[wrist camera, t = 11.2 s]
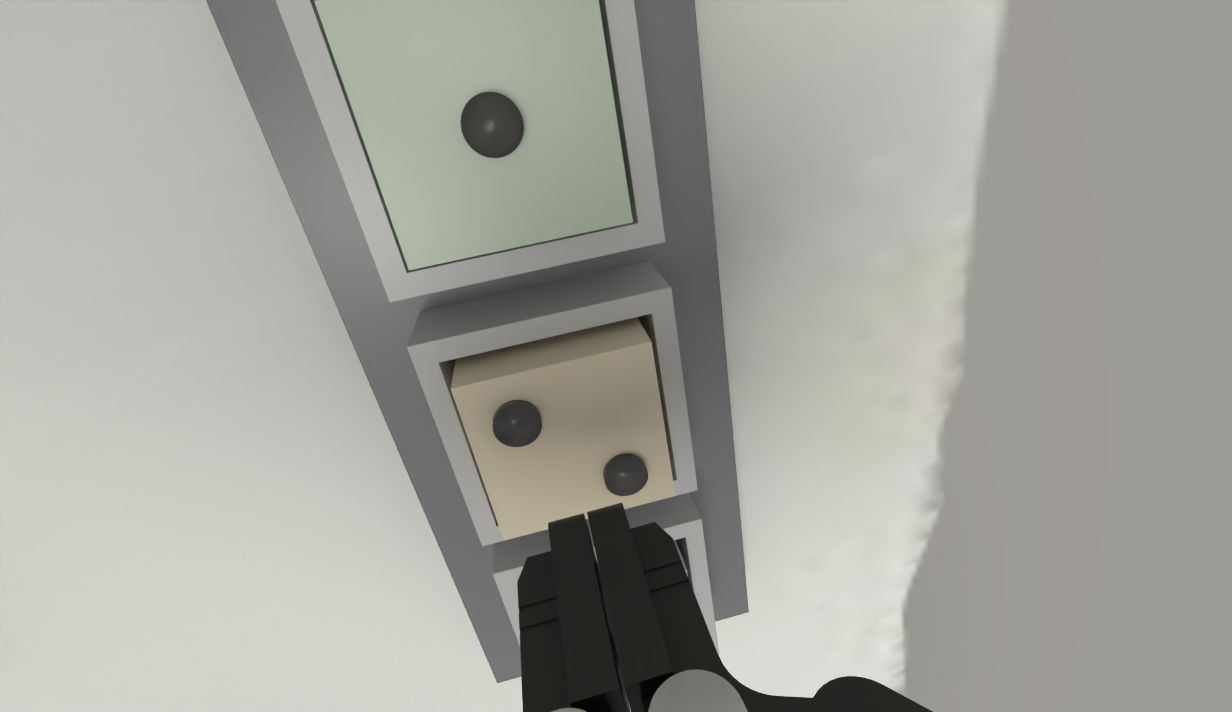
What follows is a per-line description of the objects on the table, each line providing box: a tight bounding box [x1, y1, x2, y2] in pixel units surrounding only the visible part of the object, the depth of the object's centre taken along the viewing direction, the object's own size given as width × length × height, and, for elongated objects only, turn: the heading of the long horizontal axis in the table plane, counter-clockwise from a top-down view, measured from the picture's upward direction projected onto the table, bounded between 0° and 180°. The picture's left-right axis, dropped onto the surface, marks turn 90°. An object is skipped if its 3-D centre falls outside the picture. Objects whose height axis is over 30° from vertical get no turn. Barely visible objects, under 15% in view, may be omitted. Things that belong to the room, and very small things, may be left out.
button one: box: [314, 0, 633, 270], centre depth 13 cm, size 5×5×4 cm
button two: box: [451, 317, 675, 541], centre depth 16 cm, size 5×5×4 cm
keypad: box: [206, 0, 749, 683], centre depth 18 cm, size 26×11×4 cm, turn 10°
